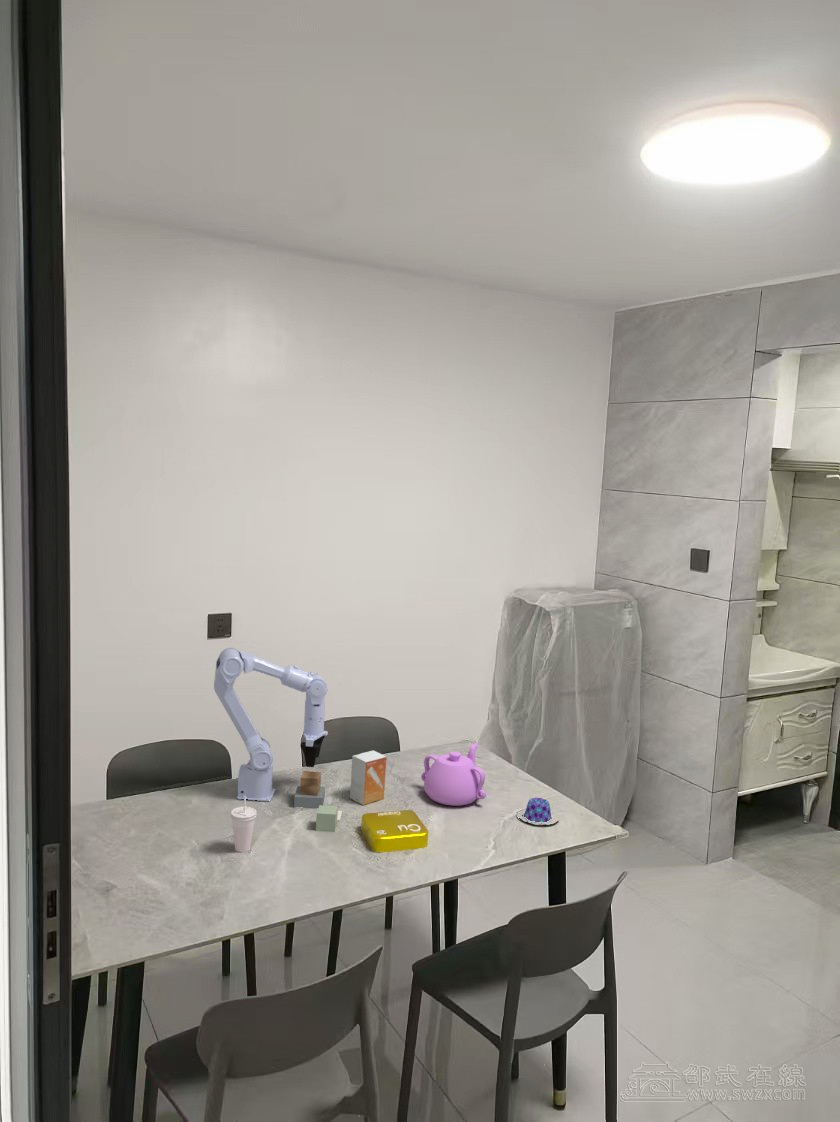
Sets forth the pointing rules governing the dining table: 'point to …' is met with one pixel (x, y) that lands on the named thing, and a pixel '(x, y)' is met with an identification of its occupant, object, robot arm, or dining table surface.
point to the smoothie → (243, 826)
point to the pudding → (538, 810)
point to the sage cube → (326, 818)
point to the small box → (368, 777)
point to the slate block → (309, 799)
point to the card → (339, 815)
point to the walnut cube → (310, 783)
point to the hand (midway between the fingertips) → (312, 761)
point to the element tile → (394, 831)
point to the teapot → (454, 778)
